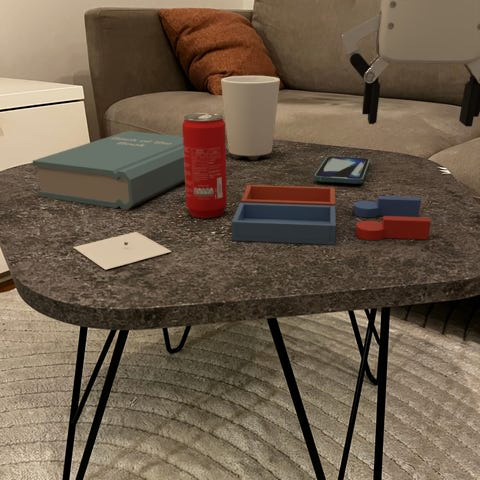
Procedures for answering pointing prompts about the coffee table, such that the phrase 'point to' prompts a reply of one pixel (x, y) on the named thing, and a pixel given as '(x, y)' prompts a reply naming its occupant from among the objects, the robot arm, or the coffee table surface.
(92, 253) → the coaster
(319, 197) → the red tray
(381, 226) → the red rounded block
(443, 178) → the coffee table surface
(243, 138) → the cup
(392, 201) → the blue rounded block
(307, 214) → the blue tray
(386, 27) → the robot arm
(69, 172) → the book
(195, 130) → the beverage can
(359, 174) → the smartphone
